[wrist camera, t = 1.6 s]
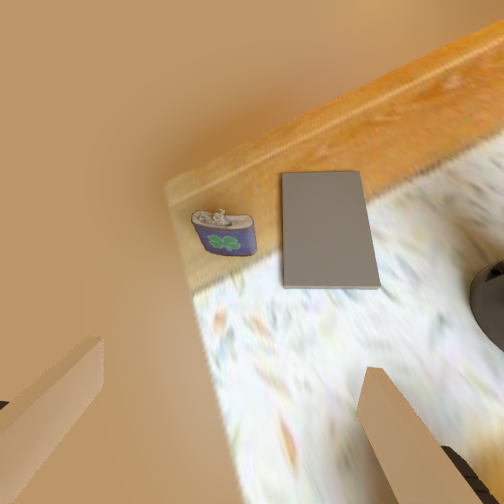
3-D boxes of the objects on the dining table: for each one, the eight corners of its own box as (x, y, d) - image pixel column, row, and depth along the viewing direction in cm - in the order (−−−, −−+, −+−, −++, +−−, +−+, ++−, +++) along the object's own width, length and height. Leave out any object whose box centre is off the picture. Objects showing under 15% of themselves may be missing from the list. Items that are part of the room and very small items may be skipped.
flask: (258, 243, 44) (253, 206, 34) (255, 259, 43) (250, 225, 33) (206, 238, 45) (187, 201, 36) (202, 253, 44) (181, 219, 34)
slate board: (356, 176, 48) (359, 171, 47) (377, 289, 39) (380, 286, 38) (282, 178, 50) (282, 173, 48) (284, 288, 40) (284, 285, 39)
